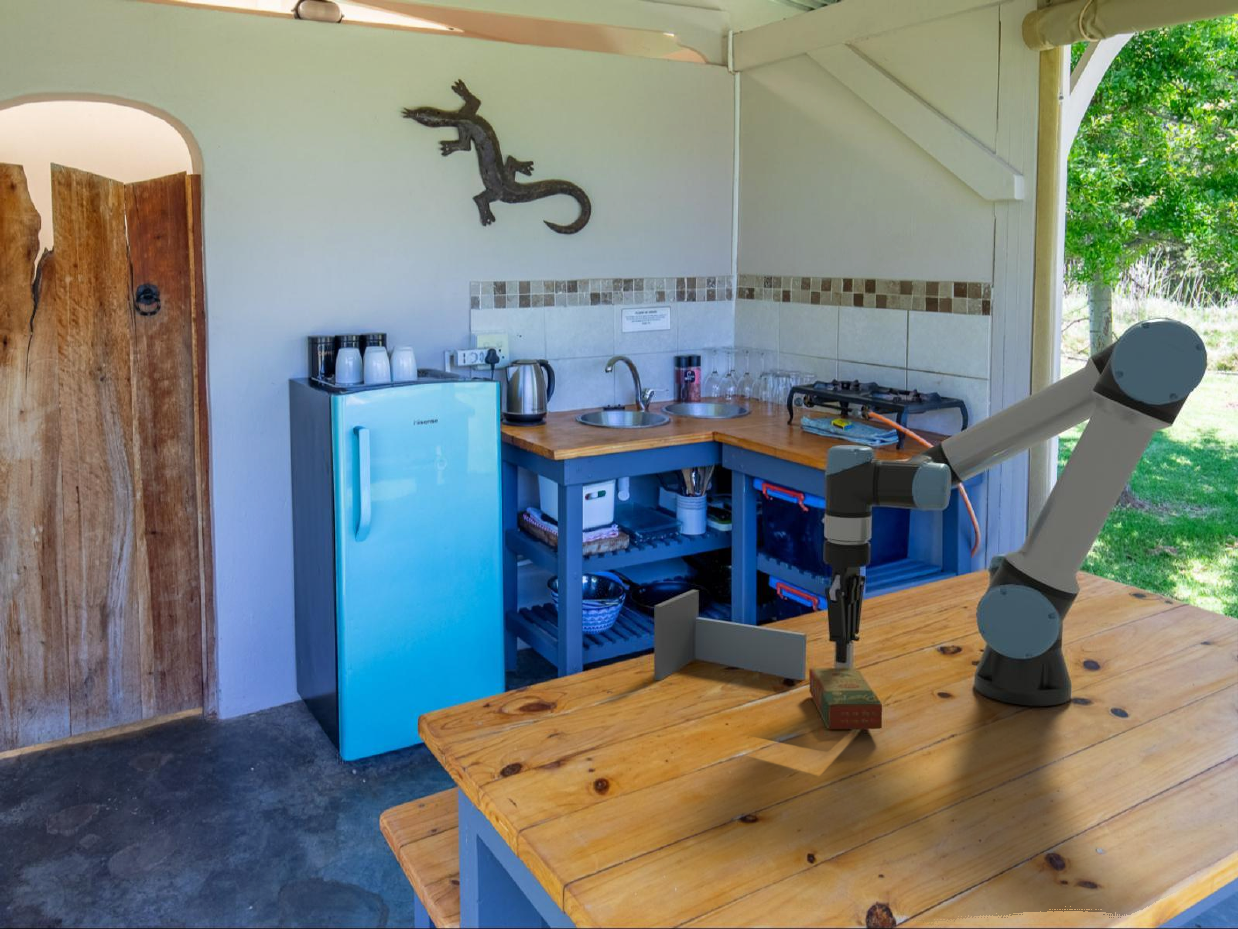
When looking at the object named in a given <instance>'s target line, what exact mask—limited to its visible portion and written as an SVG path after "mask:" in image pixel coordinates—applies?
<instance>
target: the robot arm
mask: <svg viewBox="0 0 1238 929" xmlns="http://www.w3.org/2000/svg"><path fill="white" fill-rule="evenodd" d="M1207 354H1208V353H1207V350H1206V346H1205V344H1204V342H1203V340H1202V338H1201V337H1200V335H1199V334H1198V332H1196V330H1194V329H1193V328H1192V327H1191V326H1190V325H1188V324H1185V323H1183V322H1181V321H1180V320H1175V319H1172V318H1169V317H1152V318H1147V319H1144V320H1142V321H1141V320H1140V321H1138V322H1137V323H1135V324H1133V325H1131V326H1130V327H1129V328H1127V329H1126V330H1125V331H1124V332H1123V334H1121V336H1119V337H1118V339H1117V340H1116V341H1114V342H1113V343H1111V344H1110V345H1109V346H1107V347H1106V348H1103V349H1102V350H1101V351H1099V352H1097V353H1095V354H1092V355H1091V356H1090V357H1088V359H1087V360H1086V364H1085V366H1084V367H1083V368H1080V369H1079V370H1077V371H1075V372H1073V373H1070V374H1069V375H1067V376H1065V377H1063V378H1061V379H1059V380H1057V381H1055V382H1053V383H1051V384H1050V385H1047V386H1046V387H1044V388H1042V389H1041V390H1038V391H1036V392H1034V393H1033V394H1031V395H1029V396H1026V397H1025V398H1023V399H1021V400H1018V401H1017V402H1015V403H1013V404H1011V405H1009V406H1008V407H1005V408H1004V409H1002V410H1000V411H998V412H996V413H994V414H992V415H991V416H989V417H987V418H985V419H982V420H980V421H979V422H977V423H975V424H973V425H970V426H969V427H968V428H966V429H963V430H962V431H960V432H958V433H956V434H954V435H952V436H951V437H948V438H946V439H944V440H943V441H941V442H939V443H937V444H935V445H934V446H931V447H929V448H927V449H926V450H924V451H921V452H918V453H916V454H915V455H913V456H911V457H910V458H909V459H907V460H885V459H878V458H875V454H874V449H873V448H872V447H870V446H866V445H856V444H853V445H852V444H850V445H849V444H847V445H846V444H844V445H842V444H841V445H834V446H832V447H830V448H829V449H828V450H827V452H826V463H825V465H826V466H825V472H824V479H825V480H824V481H825V482H824V485H825V486H824V488H825V490H824V495H825V496H824V498H825V499H824V500H825V501H824V517H823V518H822V519H821V522H822V523H823V524H824V530H823V533H824V537H825V538H826V540H824V542H823V552H822V553H823V554H822V555H823V559H822V560H823V562H824V564H827V565H829V566H831V567H832V572H831V576H830V586H831V587H825V589H824V595H825V600H826V606H827V621H828V634H829V635H828V636H829V637H828V641H829V642H830V643H831V642H832V643H834V661H833V663H834V665H833V668H854V646H855V645H854V642H859V641H860V636H856V635H858V634H859V633H860V624H861V617H862V616H861V614H862V608H863V606H862V605H863V598H864V597H863V596H864V588H865V585H866V581H867V577H866V575H861V568H864V567H867V566H868V565H869V564H870V563H871V547H872V546H871V545H872V544H871V542H869V541H870V539H872V520H873V519H872V518H873V515H872V508H873V507H884V508H885V507H886V508H895V509H896V508H897V509H899V508H900V509H910V510H921V511H923V512H927V511H929V510H930V511H944V510H945V509H946V508H948V506H949V503H950V499H951V493H952V488H954V487H956V486H958V485H959V484H961V483H962V482H965V481H966V480H969V479H971V478H972V477H976V476H977V475H979V474H981V473H984V472H985V471H988V470H989V469H991V468H993V467H996V466H997V465H1000V464H1001V463H1004V462H1005V461H1008V460H1009V459H1011V458H1013V457H1016V456H1017V455H1019V454H1022V453H1024V452H1025V451H1027V450H1030V449H1032V448H1034V447H1035V446H1038V445H1040V444H1042V443H1044V442H1046V441H1048V440H1050V439H1052V438H1054V437H1056V436H1058V435H1060V434H1062V433H1064V432H1066V431H1068V430H1070V429H1072V428H1074V427H1076V426H1078V425H1080V424H1082V423H1084V422H1086V421H1088V422H1087V424H1086V426H1085V428H1084V430H1083V432H1082V433H1081V435H1080V437H1079V439H1078V441H1077V442H1076V445H1075V446H1074V448H1073V450H1072V452H1071V454H1070V456H1069V457H1068V460H1067V462H1066V463H1065V465H1064V467H1063V469H1062V471H1060V472H1061V473H1059V474H1060V475H1059V476H1058V478H1057V479H1056V482H1055V483H1054V486H1053V487H1052V490H1051V491H1050V493H1049V495H1048V497H1047V499H1046V501H1045V502H1044V503H1043V506H1042V507H1041V510H1040V511H1039V513H1038V515H1037V517H1036V520H1035V522H1034V523H1033V525H1032V526H1031V529H1030V531H1029V532H1028V535H1027V537H1026V538H1025V540H1024V542H1023V544H1022V546H1021V547H1020V548H1019V549H1017V550H1012V551H1008V552H1007V553H999V554H994V555H993V556H992V557H991V559H990V564H989V567H988V572H989V581H988V582H989V584H988V587H987V589H986V591H985V593H984V595H983V596H982V597H981V598H980V600H979V601H978V604H977V607H976V612H975V615H976V625H977V629H978V631H979V634H980V636H981V638H982V639H983V641H984V642H985V643H986V645H985V647H984V649H983V652H982V655H981V657H980V660H979V662H978V664H977V668H976V670H975V671H974V684H973V685H974V686H973V687H974V689H975V690H976V692H978V693H979V694H981V695H982V696H985V697H987V698H990V699H992V700H996V701H1000V702H1004V703H1009V704H1014V705H1021V706H1022V705H1024V706H1031V707H1033V706H1035V707H1036V706H1037V707H1039V706H1041V707H1042V706H1043V707H1045V706H1056V705H1060V704H1061V705H1062V704H1065V703H1066V702H1068V701H1070V700H1071V697H1072V687H1073V686H1072V680H1071V677H1070V674H1069V670H1068V668H1067V663H1066V660H1065V656H1064V653H1063V650H1062V649H1063V647H1062V646H1063V635H1064V634H1063V632H1064V631H1063V630H1064V620H1065V619H1066V617H1067V614H1068V613H1069V611H1070V609H1071V607H1072V606H1073V604H1074V603H1075V600H1076V599H1077V597H1078V595H1079V593H1080V591H1081V588H1080V584H1079V582H1078V580H1077V574H1078V572H1079V570H1080V569H1081V567H1082V565H1083V563H1084V561H1085V560H1086V558H1087V556H1088V554H1089V552H1090V551H1091V549H1092V547H1093V545H1094V543H1095V541H1096V540H1097V538H1098V536H1099V534H1100V532H1102V529H1103V528H1104V525H1105V524H1106V522H1107V520H1108V518H1109V516H1110V515H1111V513H1112V511H1113V509H1114V507H1115V506H1116V504H1117V502H1118V500H1119V498H1120V496H1121V494H1122V493H1123V490H1125V488H1126V485H1127V483H1128V482H1129V480H1130V479H1131V476H1132V474H1133V472H1134V471H1135V469H1136V468H1137V466H1138V464H1139V462H1140V460H1141V459H1142V457H1143V454H1144V453H1145V451H1146V450H1147V447H1148V446H1149V444H1150V442H1151V440H1152V439H1153V436H1154V435H1155V433H1157V432H1158V431H1161V430H1164V429H1166V428H1170V427H1173V424H1174V423H1175V421H1176V419H1177V418H1178V416H1179V414H1180V412H1181V410H1182V409H1183V407H1184V405H1185V403H1186V402H1187V400H1188V397H1189V396H1190V394H1191V393H1192V392H1194V390H1195V389H1196V388H1197V387H1198V386H1199V385H1200V384H1201V382H1202V380H1203V378H1204V376H1205V374H1206V371H1207V366H1208V362H1207V361H1208V356H1207Z"/></svg>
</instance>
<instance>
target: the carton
mask: <svg viewBox="0 0 1238 929" xmlns="http://www.w3.org/2000/svg"><path fill="white" fill-rule="evenodd" d="M808 674H809V693H810V695H811V697H812V699H813V701H814V704H815V705H816V707H817V709H818V711H819V714H820V715H821V717H822V720H823V722H824V724H825V726H826V729H827V730H876V729H877V730H880V729H882V728H883V721H882V720H883V704H882V702H881V700H880V699H879V698H878V696H877V695H876V693H875V692H874V691H873V689H872V688H871V686H870V685H869V683H868V682H867V679H865V677H864V676H863V674H862V673H861V671H860V670H859V668H855V667H853V668H834V667H828V668H825V667H824V668H822V667H821V668H809V672H808Z"/></svg>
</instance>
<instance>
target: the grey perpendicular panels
mask: <svg viewBox="0 0 1238 929" xmlns="http://www.w3.org/2000/svg"><path fill="white" fill-rule="evenodd" d="M699 593H700V592H699V590H698V589H691V590H689V591H686V592H683V593H681V594H679V595H676V596H674V597H671V598H670V599H668V600H665V601H662V602H661V603H658V604H655V605H654V610H653V611H654V615H653V617H654V618H653V619H654V623H653V624H654V628H653V630H654V632H653V634H654V636H653V637H654V639H653V640H654V642H653V643H654V644H653V649H654V650H653V651H654V652H653V654H654V655H653V656H654V657H653V658H654V664H653V666H654V667H653V668H654V669H653V680H655V681H659V682H660V681H662V680H664V679H666V678H668V677H669V676H671V675H674V674H675V673H677V672H678V671H680V670H681V669H683V668H684V667H685V666H687V665H689V664H690V663H692V661H694V660H699V661H704V662H709V663H712V664H713V663H714V664H719V665H723V664H724V665H723V666H728V665H729V666H728V667H731V668H732V667H734V668H737V667H738V669H742V668H743V669H744V670H747V671H753V672H756V671H758V672H757V673H761V672H762V674H766V675H770V674H773V675H772V676H775V675H776V676H775V677H780V678H786V679H791V680H792V679H793V680H795V681H796V680H798V681H804V680H805V679H806V674H807V673H806V670H807V669H806V668H807V667H806V663H807V633H803V632H797V631H791V630H787V629H786V630H784V629H780V628H779V629H778V628H771V627H765V626H760V625H759V626H758V625H753V624H752V625H751V624H747V623H746V624H745V623H740V622H732V621H725V620H719V619H712V618H706V617H700V616H699V606H700V605H699V602H700V601H699V598H700V596H699Z"/></svg>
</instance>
